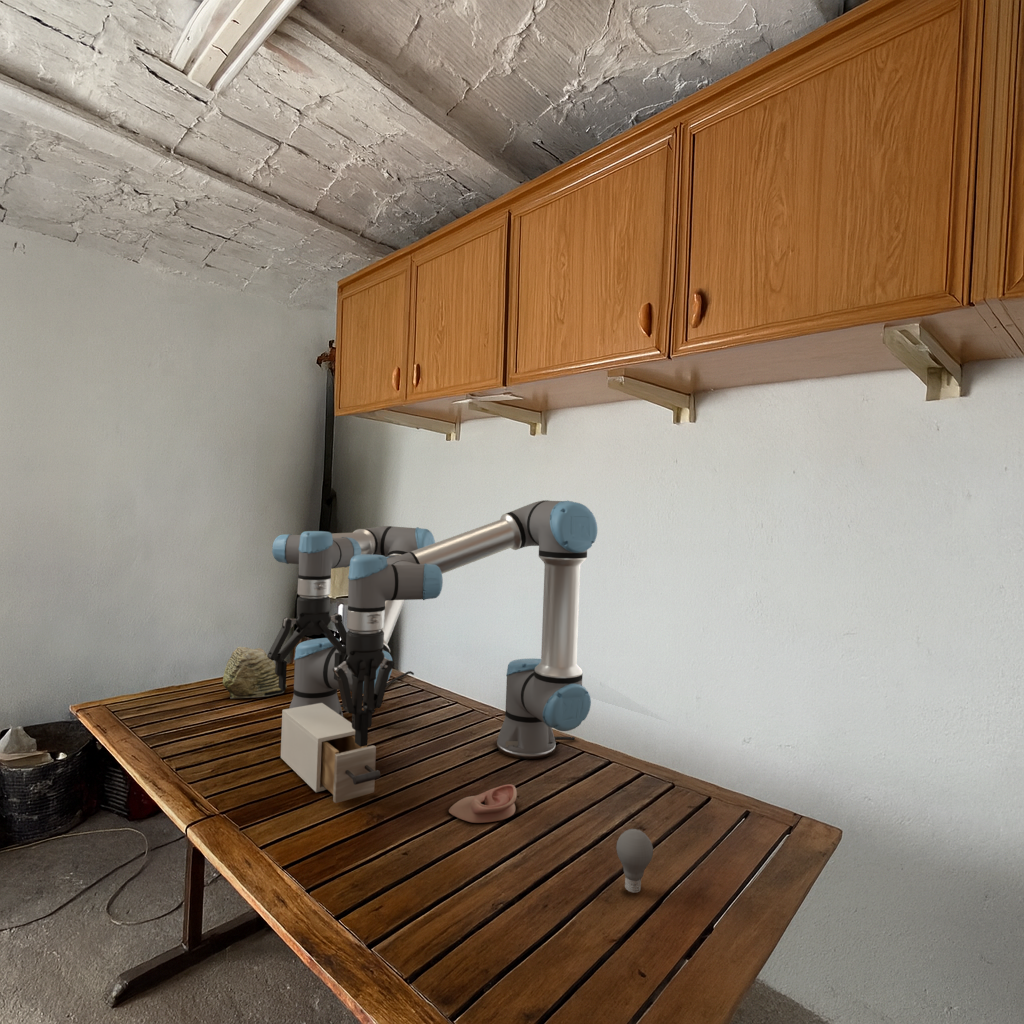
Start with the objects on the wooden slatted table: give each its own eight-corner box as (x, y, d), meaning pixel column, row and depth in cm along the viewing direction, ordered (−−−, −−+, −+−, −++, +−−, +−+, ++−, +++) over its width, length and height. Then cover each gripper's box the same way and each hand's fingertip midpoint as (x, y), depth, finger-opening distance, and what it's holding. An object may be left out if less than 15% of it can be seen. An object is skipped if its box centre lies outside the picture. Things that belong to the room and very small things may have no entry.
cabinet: (359, 781, 142) (361, 729, 142) (315, 792, 136) (318, 738, 135) (320, 748, 159) (322, 702, 158) (280, 757, 152) (282, 709, 152)
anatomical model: (444, 799, 126) (460, 775, 138) (443, 818, 126) (460, 793, 138) (509, 808, 124) (520, 783, 135) (508, 828, 124) (519, 801, 135)
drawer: (386, 802, 131) (388, 755, 130) (346, 814, 125) (348, 765, 125) (334, 759, 151) (335, 718, 151) (298, 767, 145) (299, 725, 145)
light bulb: (610, 879, 108) (613, 822, 108) (644, 879, 109) (647, 822, 109) (619, 902, 102) (622, 840, 102) (655, 901, 103) (658, 840, 103)
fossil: (218, 695, 195) (220, 647, 195) (278, 685, 208) (279, 640, 207) (228, 703, 189) (230, 653, 188) (289, 692, 201) (290, 645, 201)
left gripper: (265, 601, 140) (262, 696, 141) (369, 595, 156) (365, 680, 157) (255, 596, 146) (251, 688, 147) (355, 590, 162) (352, 673, 162)
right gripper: (343, 636, 123) (338, 757, 123) (402, 630, 131) (398, 743, 132) (327, 629, 129) (323, 744, 129) (385, 623, 137) (381, 732, 138)
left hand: (310, 684), depth 152 cm, fingers open, 13 cm apart
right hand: (361, 743), depth 131 cm, fingers closed
